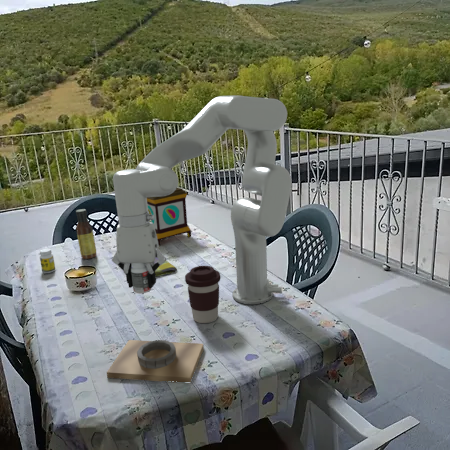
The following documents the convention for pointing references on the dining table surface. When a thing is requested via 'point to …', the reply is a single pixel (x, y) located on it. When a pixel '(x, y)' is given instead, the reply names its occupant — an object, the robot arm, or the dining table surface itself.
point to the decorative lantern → (169, 214)
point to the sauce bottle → (85, 235)
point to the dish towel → (164, 268)
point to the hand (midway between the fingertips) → (142, 285)
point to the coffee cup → (203, 293)
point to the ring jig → (156, 361)
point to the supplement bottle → (47, 261)
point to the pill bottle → (140, 278)
